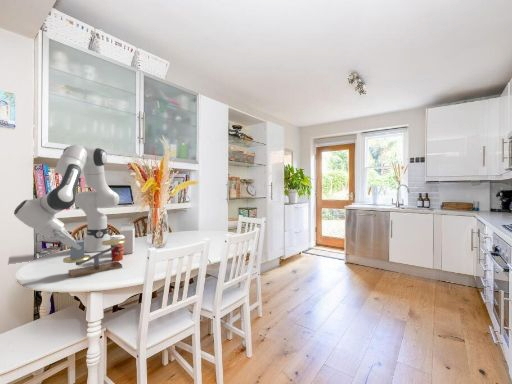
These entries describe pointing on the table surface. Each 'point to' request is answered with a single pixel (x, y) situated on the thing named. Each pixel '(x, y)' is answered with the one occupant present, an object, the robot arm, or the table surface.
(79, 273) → the balance
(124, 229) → the milk carton
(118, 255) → the paper cup
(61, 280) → the table surface
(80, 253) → the block
